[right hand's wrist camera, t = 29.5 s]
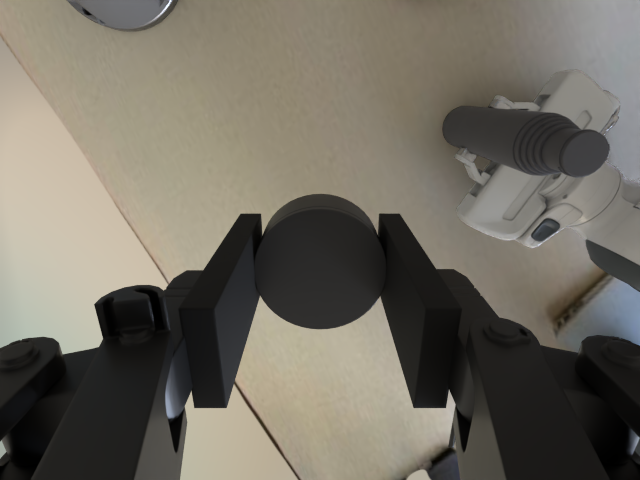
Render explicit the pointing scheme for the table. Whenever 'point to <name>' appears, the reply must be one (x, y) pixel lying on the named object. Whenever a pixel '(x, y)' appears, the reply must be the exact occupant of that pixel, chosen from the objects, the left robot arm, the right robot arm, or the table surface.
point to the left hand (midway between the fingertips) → (475, 127)
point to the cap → (320, 262)
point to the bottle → (527, 140)
